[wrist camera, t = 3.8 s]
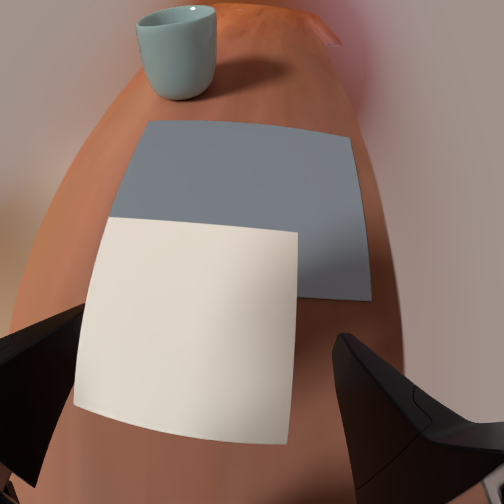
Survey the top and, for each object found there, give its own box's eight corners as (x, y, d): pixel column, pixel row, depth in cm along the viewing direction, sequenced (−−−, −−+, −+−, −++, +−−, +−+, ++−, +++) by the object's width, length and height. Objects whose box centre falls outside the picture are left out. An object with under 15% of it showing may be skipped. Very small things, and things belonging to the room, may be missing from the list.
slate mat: (369, 301, 18) (371, 300, 18) (93, 274, 17) (91, 273, 17) (348, 140, 24) (349, 138, 24) (149, 123, 24) (149, 121, 24)
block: (250, 386, 15) (286, 444, 4) (185, 379, 15) (73, 404, 4) (255, 324, 17) (297, 232, 5) (192, 317, 17) (109, 217, 5)
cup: (221, 74, 28) (221, 3, 19) (213, 108, 25) (209, 21, 15) (161, 76, 27) (150, 10, 18) (141, 111, 24) (122, 32, 15)
